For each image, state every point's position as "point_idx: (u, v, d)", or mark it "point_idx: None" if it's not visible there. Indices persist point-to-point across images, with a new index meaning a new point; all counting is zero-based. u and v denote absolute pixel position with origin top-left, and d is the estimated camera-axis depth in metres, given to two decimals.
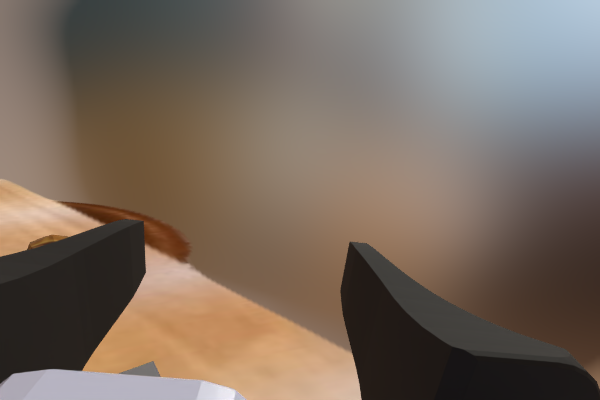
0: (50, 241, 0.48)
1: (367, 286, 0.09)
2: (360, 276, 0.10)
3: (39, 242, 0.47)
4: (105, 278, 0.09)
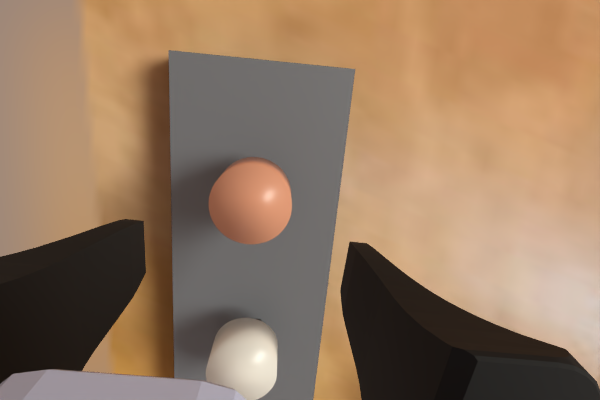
0: None
1: (367, 286, 0.09)
2: (360, 276, 0.10)
3: None
4: (105, 277, 0.09)
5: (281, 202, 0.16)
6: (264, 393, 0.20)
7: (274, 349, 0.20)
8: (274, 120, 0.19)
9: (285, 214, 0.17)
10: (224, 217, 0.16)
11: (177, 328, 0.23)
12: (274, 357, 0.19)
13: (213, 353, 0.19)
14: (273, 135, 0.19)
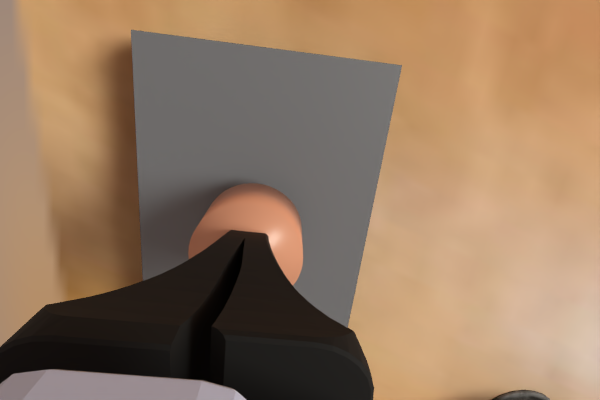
0: None
1: None
2: None
3: None
4: (232, 289, 0.10)
5: (288, 254, 0.12)
6: None
7: None
8: (282, 134, 0.14)
9: (293, 270, 0.12)
10: None
11: None
12: None
13: None
14: (280, 155, 0.14)
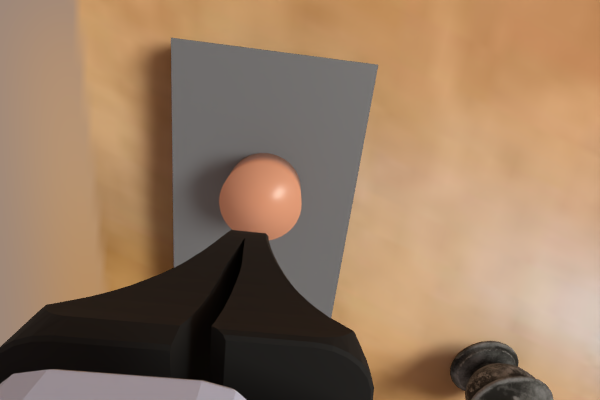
0: None
1: None
2: None
3: None
4: (232, 289, 0.10)
5: (291, 201, 0.16)
6: None
7: None
8: (286, 118, 0.18)
9: (294, 213, 0.17)
10: (234, 214, 0.17)
11: None
12: None
13: None
14: (284, 135, 0.18)
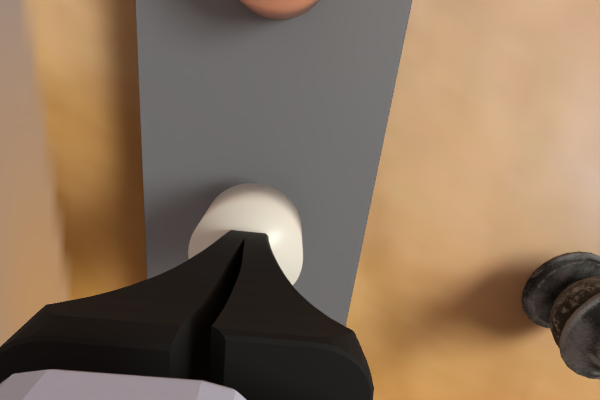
0: None
1: None
2: None
3: None
4: (232, 289, 0.10)
5: None
6: None
7: (298, 227, 0.13)
8: None
9: None
10: None
11: (150, 211, 0.15)
12: (299, 235, 0.12)
13: (201, 220, 0.12)
14: None
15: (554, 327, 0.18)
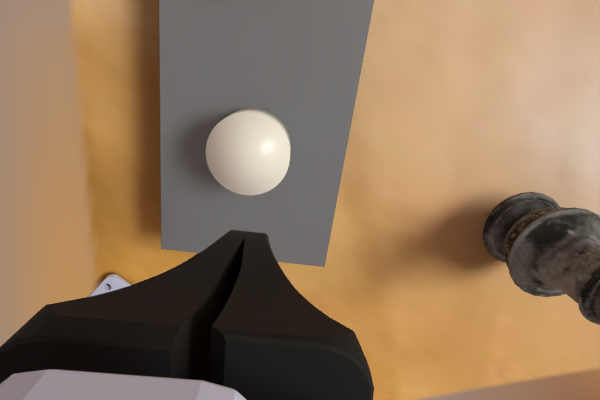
0: None
1: None
2: None
3: None
4: (232, 289, 0.10)
5: None
6: (273, 185, 0.17)
7: (287, 137, 0.17)
8: None
9: None
10: None
11: (165, 138, 0.18)
12: (287, 141, 0.16)
13: (215, 126, 0.16)
14: None
15: (505, 251, 0.21)
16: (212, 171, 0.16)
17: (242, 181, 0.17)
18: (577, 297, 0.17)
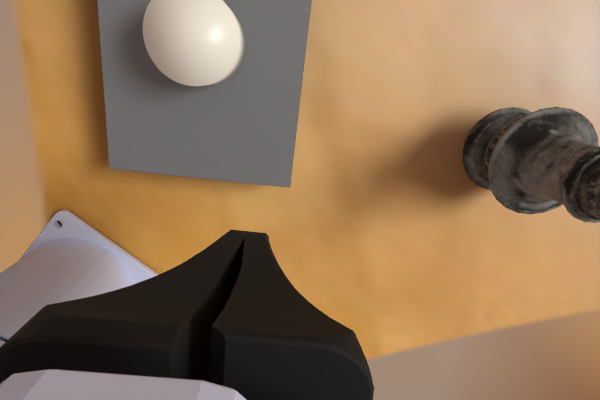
0: None
1: None
2: None
3: None
4: (232, 289, 0.10)
5: None
6: (222, 73, 0.15)
7: (237, 22, 0.15)
8: None
9: None
10: None
11: (105, 35, 0.16)
12: (235, 21, 0.15)
13: None
14: None
15: (485, 166, 0.19)
16: (152, 57, 0.15)
17: (186, 68, 0.15)
18: (561, 193, 0.15)
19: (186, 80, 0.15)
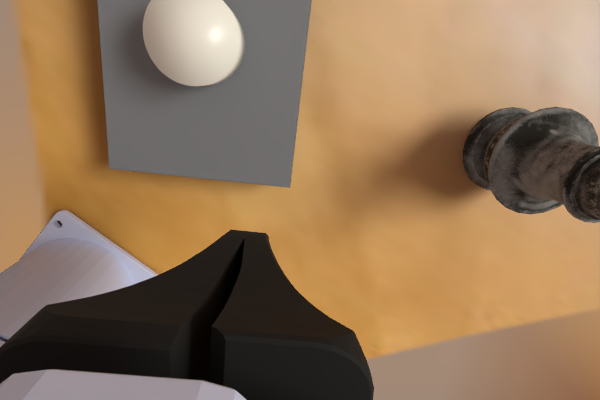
0: None
1: None
2: None
3: None
4: (232, 289, 0.10)
5: None
6: (222, 73, 0.15)
7: (237, 22, 0.15)
8: None
9: None
10: None
11: (105, 35, 0.16)
12: (235, 21, 0.15)
13: None
14: None
15: (485, 166, 0.19)
16: (152, 57, 0.15)
17: (186, 68, 0.15)
18: (561, 193, 0.15)
19: (186, 80, 0.15)
